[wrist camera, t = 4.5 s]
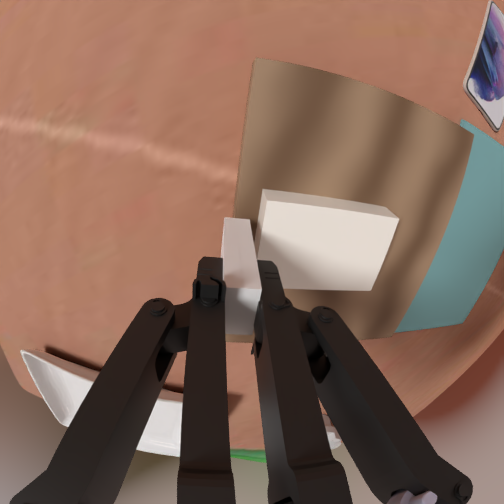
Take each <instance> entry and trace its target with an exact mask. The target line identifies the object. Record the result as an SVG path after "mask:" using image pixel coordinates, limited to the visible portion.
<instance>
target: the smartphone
mask: <svg viewBox="0 0 504 504" xmlns="http://www.w3.org/2000/svg"><path fill="white" fill-rule="evenodd" d="M463 89H464V91H465V93H466V94H467V95H468V97H469V98H470V99H471V100H472V102H473V103H474V104H475V106H476V107H477V108H478V109H479V110H480V111H481V112H482V115H483V116H484V118H485V119H486V121H487V122H488V123H489V125H490V126H491V128H492V129H493V130H494V131H499V130H500V128H501V125H502V122H503V120H504V14H503V13H502V12H501V10H500V9H499V8H498V6H497V5H496V4H495V3H494V2H493V1H491V0H489V1H488V5H487V9H486V13H485V17H484V21H483V25H482V28H481V32H480V35H479V38H478V42H477V45H476V48H475V51H474V54H473V57H472V60H471V63H470V65H469V68H468V71H467V73H466V76H465V79H464V81H463Z"/></svg>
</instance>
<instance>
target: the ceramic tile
mask: <svg viewBox="0 0 504 504" xmlns="http://www.w3.org/2000/svg"><path fill="white" fill-rule="evenodd" d="M398 221H399V218H398V217H397V216H396V215H394V214H393V213H392V212H391V211H390V210H389V209H387V208H386V207H383V206H378V205H372V204H367V203H361V202H355V201H349V200H343V199H336V198H330V197H323V196H316V195H308V194H301V193H293V192H285V191H277V190H268V189H263V190H262V197H261V203H260V210H259V216H258V222H257V229H256V235H255V242H254V247H255V253H256V259H257V260H267V261H272V262H273V263H274V264H275V265H276V266H277V268H278V271H279V275H280V279H281V282H282V286H283V289H309V290H348V291H371V289H372V287H373V285H374V282H375V280H376V278H377V275H378V273H379V271H380V268H381V266H382V264H383V261H384V259H385V256H386V254H387V251H388V248H389V246H390V243H391V241H392V238H393V235H394V232H395V230H396V227H397V224H398Z"/></svg>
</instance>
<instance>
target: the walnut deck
mask: <svg viewBox="0 0 504 504" xmlns="http://www.w3.org/2000/svg"><path fill="white" fill-rule="evenodd" d="M473 139H474V134H473V133H471V132H470V131H468V130H466V129H465V128H463V127H461V126H459V125H458V124H456V123H454V122H452V121H450V120H449V119H447V118H445V117H443V116H441V115H439V114H437V113H435V112H433V111H431V110H429V109H427V108H425V107H423V106H421V105H419V104H416V103H414V102H412V101H410V100H407V99H405V98H403V97H400V96H398V95H396V94H393V93H391V92H388V91H385V90H383V89H380V88H378V87H375V86H372V85H369V84H366V83H363V82H360V81H357V80H354V79H351V78H348V77H344V76H341V75H338V74H334V73H330V72H327V71H323V70H319V69H315V68H311V67H306V66H302V65H297V64H292V63H287V62H282V61H276V60H270V59H263V58H255V60H254V61H253V65H252V72H251V79H250V86H249V93H248V100H247V107H246V114H245V121H244V129H243V136H242V144H241V152H240V160H239V168H238V176H237V184H236V193H235V201H234V210H233V218H239V219H250V224H251V230H252V236H253V241H254V242H255V235H256V229H257V222H258V216H259V210H260V203H261V197H262V190H263V189H268V190H277V191H285V192H293V193H301V194H308V195H316V196H323V197H330V198H336V199H343V200H349V201H355V202H361V203H367V204H372V205H378V206H383V207H386V208H387V209H389V210H390V211H391V212H392V213H393V214H394V215H396V216H397V217H398V218H399V221H398V224H397V227H396V230H395V232H394V235H393V238H392V241H391V243H390V246H389V248H388V251H387V254H386V256H385V259H384V261H383V264H382V266H381V268H380V271H379V273H378V275H377V278H376V280H375V282H374V285H373V287H372V289H371V291H348V290H309V289H283V290H284V293H285V297H287V298H288V299H289V300H290V301H291V303H292V304H293V307H295V308H297V309H300V310H303V311H307V312H311V310H312V309H313V308H314V307H317V306H326V307H329V308H331V309H333V310H335V311H336V312H337V313H338V314H339V316H340V317H341V318H342V320H343V321H344V322H345V324H346V325H347V326H348V328H349V329H350V330H351V332H352V333H353V334H354V336H355V337H356V338H357V340H365V339H377V338H387V337H392V335H393V334H394V332H395V331H396V329H397V327H398V326H399V324H400V322H401V321H402V319H403V317H404V315H405V314H406V312H407V310H408V308H409V307H410V305H411V303H412V301H413V299H414V297H415V296H416V294H417V292H418V290H419V288H420V286H421V284H422V282H423V280H424V278H425V276H426V274H427V272H428V270H429V268H430V266H431V263H432V261H433V259H434V257H435V255H436V252H437V250H438V248H439V245H440V243H441V241H442V238H443V236H444V233H445V231H446V228H447V226H448V223H449V220H450V218H451V215H452V212H453V209H454V207H455V204H456V201H457V198H458V195H459V192H460V188H461V185H462V182H463V178H464V175H465V171H466V168H467V164H468V160H469V156H470V152H471V148H472V143H473ZM254 337H255V333H254V330H253V335H237V334H225V338H226V342H244V343H253V342H254Z"/></svg>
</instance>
